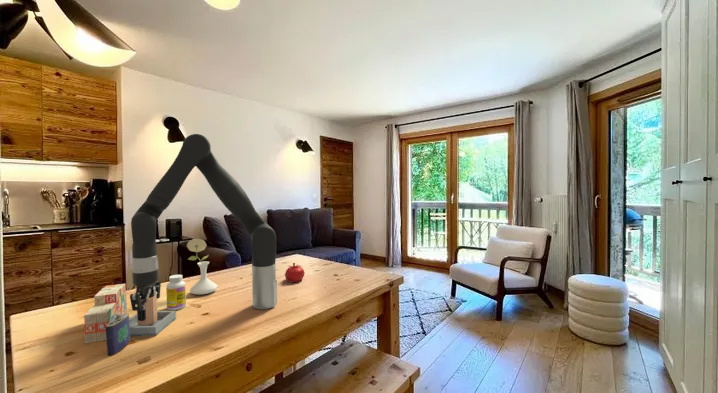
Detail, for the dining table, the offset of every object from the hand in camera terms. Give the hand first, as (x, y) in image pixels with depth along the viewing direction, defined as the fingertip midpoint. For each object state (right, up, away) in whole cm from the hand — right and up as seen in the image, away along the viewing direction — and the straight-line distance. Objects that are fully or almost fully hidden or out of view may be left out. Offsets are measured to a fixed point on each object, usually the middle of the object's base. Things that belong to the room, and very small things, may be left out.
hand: (147, 316), depth 110 cm
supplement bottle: (0, -3, +17) cm, 17 cm away
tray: (0, -4, 0) cm, 4 cm away
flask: (0, -5, -13) cm, 14 cm away
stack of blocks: (-14, -4, 0) cm, 15 cm away
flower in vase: (+2, -2, +34) cm, 34 cm away
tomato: (+41, -1, +52) cm, 66 cm away
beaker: (0, -2, 0) cm, 2 cm away
